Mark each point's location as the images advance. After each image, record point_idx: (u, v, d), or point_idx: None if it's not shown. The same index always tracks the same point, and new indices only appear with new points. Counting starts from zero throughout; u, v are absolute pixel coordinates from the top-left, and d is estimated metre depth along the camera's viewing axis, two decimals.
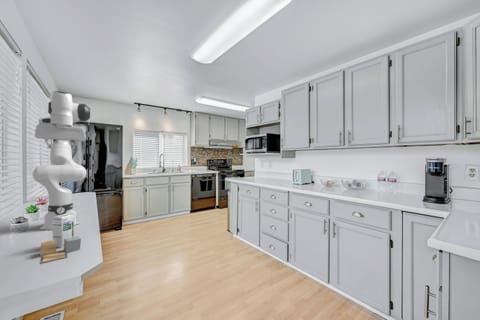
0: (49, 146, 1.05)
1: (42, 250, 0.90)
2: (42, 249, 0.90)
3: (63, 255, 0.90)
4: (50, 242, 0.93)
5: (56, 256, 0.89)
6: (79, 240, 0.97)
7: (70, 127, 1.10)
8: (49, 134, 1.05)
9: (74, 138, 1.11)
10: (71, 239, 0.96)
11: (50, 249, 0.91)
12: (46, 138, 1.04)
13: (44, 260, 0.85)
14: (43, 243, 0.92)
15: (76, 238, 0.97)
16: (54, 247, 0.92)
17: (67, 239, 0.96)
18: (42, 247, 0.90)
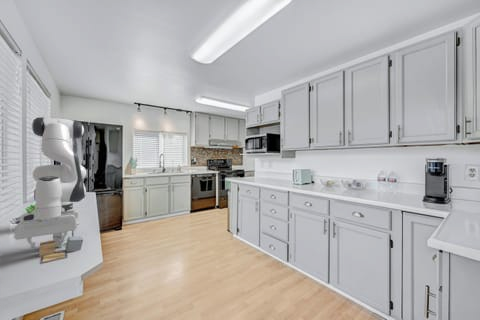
0: (32, 246, 0.88)
1: (41, 250, 0.89)
2: (41, 249, 0.89)
3: (63, 255, 0.90)
4: (49, 242, 0.92)
5: (56, 256, 0.89)
6: (81, 241, 0.97)
7: (58, 218, 0.93)
8: (32, 232, 0.88)
9: (63, 230, 0.94)
10: (74, 238, 0.96)
11: (49, 249, 0.91)
12: (28, 237, 0.87)
13: (44, 260, 0.85)
14: (42, 243, 0.91)
15: (79, 238, 0.97)
16: (53, 247, 0.92)
17: (70, 237, 0.96)
18: (41, 247, 0.89)
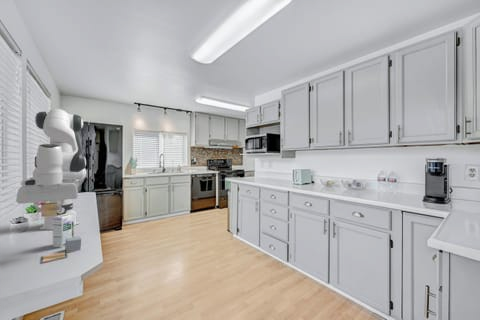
0: (39, 210, 0.90)
1: (43, 210, 0.90)
2: (43, 209, 0.90)
3: (63, 255, 0.90)
4: (51, 203, 0.93)
5: (56, 256, 0.89)
6: (79, 240, 0.96)
7: (59, 185, 0.94)
8: (34, 197, 0.89)
9: (64, 198, 0.95)
10: (72, 239, 0.96)
11: (51, 210, 0.92)
12: (30, 202, 0.88)
13: (44, 260, 0.85)
14: (44, 204, 0.92)
15: (77, 238, 0.97)
16: (55, 208, 0.93)
17: (68, 239, 0.96)
18: (43, 207, 0.90)
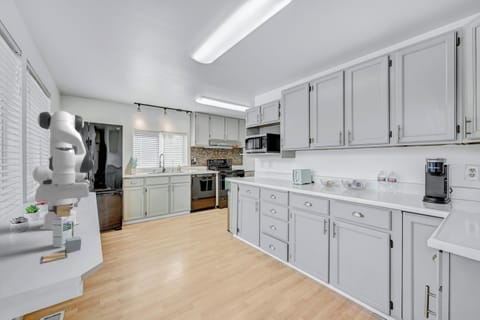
0: (50, 208, 0.99)
1: (58, 211, 0.99)
2: (58, 210, 0.99)
3: (63, 255, 0.90)
4: (65, 205, 1.02)
5: (56, 256, 0.89)
6: (79, 240, 0.96)
7: (73, 185, 1.03)
8: (50, 195, 0.98)
9: (77, 196, 1.04)
10: (72, 239, 0.96)
11: (65, 211, 1.01)
12: (47, 200, 0.97)
13: (44, 260, 0.85)
14: (59, 205, 1.01)
15: (77, 238, 0.97)
16: (68, 209, 1.02)
17: (68, 239, 0.96)
18: (58, 208, 0.99)
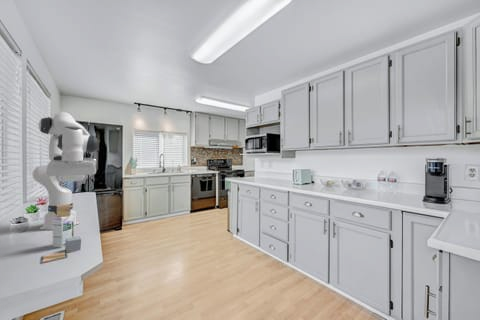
0: (60, 183, 1.06)
1: (58, 211, 0.99)
2: (58, 210, 0.99)
3: (63, 255, 0.90)
4: (65, 205, 1.02)
5: (56, 256, 0.89)
6: (79, 240, 0.96)
7: (81, 162, 1.10)
8: (60, 171, 1.05)
9: (84, 173, 1.11)
10: (72, 239, 0.96)
11: (65, 211, 1.01)
12: (57, 175, 1.04)
13: (44, 260, 0.85)
14: (59, 205, 1.01)
15: (77, 238, 0.97)
16: (68, 209, 1.02)
17: (68, 239, 0.96)
18: (58, 208, 0.99)
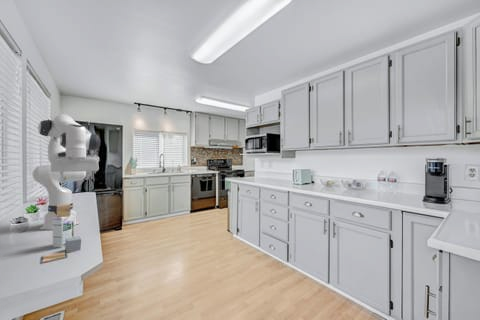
0: (64, 179, 1.08)
1: (58, 211, 0.99)
2: (58, 210, 0.99)
3: (63, 255, 0.90)
4: (65, 205, 1.02)
5: (56, 256, 0.89)
6: (79, 240, 0.96)
7: (84, 159, 1.13)
8: (64, 167, 1.07)
9: (88, 169, 1.14)
10: (72, 239, 0.96)
11: (65, 211, 1.01)
12: (61, 171, 1.07)
13: (44, 260, 0.85)
14: (58, 205, 1.01)
15: (77, 238, 0.97)
16: (68, 209, 1.02)
17: (68, 239, 0.96)
18: (58, 208, 0.99)
